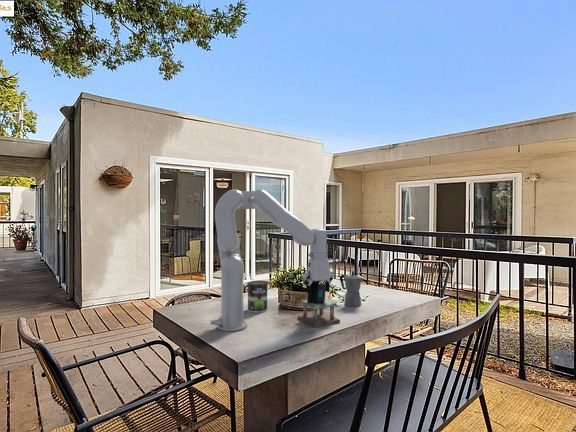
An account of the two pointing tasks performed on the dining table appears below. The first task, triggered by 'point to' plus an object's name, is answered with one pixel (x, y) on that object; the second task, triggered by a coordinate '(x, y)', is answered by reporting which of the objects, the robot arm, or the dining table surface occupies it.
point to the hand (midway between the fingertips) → (318, 292)
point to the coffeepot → (352, 289)
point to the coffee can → (257, 296)
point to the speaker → (317, 293)
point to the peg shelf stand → (318, 314)
